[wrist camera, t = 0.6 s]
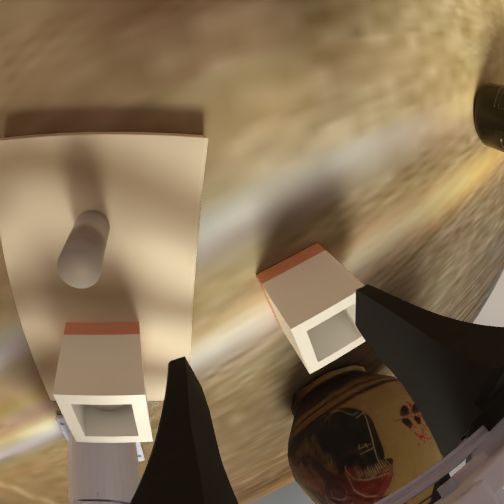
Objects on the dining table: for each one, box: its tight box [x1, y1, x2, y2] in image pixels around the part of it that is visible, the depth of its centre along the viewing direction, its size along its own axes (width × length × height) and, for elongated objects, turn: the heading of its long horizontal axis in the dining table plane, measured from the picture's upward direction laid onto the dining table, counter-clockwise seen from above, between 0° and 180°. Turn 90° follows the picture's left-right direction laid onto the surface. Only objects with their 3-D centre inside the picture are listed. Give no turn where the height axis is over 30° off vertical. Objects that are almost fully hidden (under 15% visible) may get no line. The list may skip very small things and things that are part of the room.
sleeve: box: [256, 243, 365, 374], centre depth 21 cm, size 5×5×6 cm
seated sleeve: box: [53, 322, 153, 443], centre depth 17 cm, size 5×5×6 cm
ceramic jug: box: [288, 365, 451, 504], centre depth 21 cm, size 17×15×30 cm
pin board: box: [0, 132, 208, 411], centre depth 16 cm, size 20×12×6 cm, turn 171°
